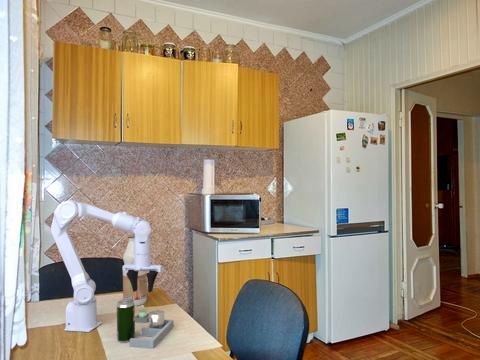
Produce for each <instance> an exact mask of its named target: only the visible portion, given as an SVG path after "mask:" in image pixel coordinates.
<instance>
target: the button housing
mask: <svg viewBox="0 0 480 360" xmlns="http://www.w3.org/2000/svg"><path fill="white" fill-rule="evenodd" d="M149 313H150V312H147V317H146V318H139V313H138V314H137V315H135V322H137V324H138V323H139V324H149Z"/></svg>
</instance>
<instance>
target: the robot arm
mask: <svg viewBox="0 0 480 360" xmlns="http://www.w3.org/2000/svg"><path fill="white" fill-rule="evenodd" d="M77 216H78V218H79V217H80V218H81V217H86V216H89V217H93V218H96V219H100V220H102V221H106V222H109V223H111V224H112V227H113V228H116V229H118V230H120V231H124V232H126V233H130V234H131V233H134V235H135V241H134V264H132V265H122V272H123V271H128V273H126V275H127V277H128V278H129V280H130V282H131V285H132V289H133V292H135V291H137V289H138V272H139V271H146V277H147V292H148V293H152V292H153V289H154V284H155V282H156V279H157V276H158V275H159V273H162V272H163V268H164V267H163V265H157V264H151V261H152V259H151V236H150V234H151V231H152V227H151V224H150V223H149V222H148V221H147V220H145V219H144V218H140V216H137V217H135V216H133V215H130V214H128V213H127V212H126V211H123V212H122V211H119V212H117V213H113V212H110V211H108V210H105V209H102V208H101V207H97V206H95V205H92V204H89V203H85V202H81V201H79V202H78V201H76V200H74V199H73V200H72V199H70V200H66V201H65V200H64V201H63V202H61V203H59V204H58V206H57V207H56V209H55V210H54V211H53V217H52V223H51V226H50V233H51V235H52V237H53V240H54V242H55V244H56V247H57V249H58V251H59V254H60V256H61V258H62V261H63V263H64V265H65V268H66V270H67V272H68V274H69V276H70V279H71V286H72V288H73V300H72V301H69V302H68V303H67V305H66V308H65V328H64V330H63V331H65V332H67V331H69V332H85V333H90V332H92V331H93V330H95V329H96V328H97V327H99V326H101V325H102V324H103V322H102V321H97V320H98V317H97V315H98V313H97V297H95V291H96V288H97V284H96V283H95V281H94V280H93V279H91V278H90V275H89V273H88V272H86V269H85V267H84V265H83V263H82V260H81V258H80V256H79V253H78V250H77V248H76V246H75V244H74V241H73V239H72V237H71V234H70V233H69V228H70V226H71V224H72V223H73V220H74V219H76V218H77Z"/></svg>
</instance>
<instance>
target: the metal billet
mask: <svg viewBox="0 0 480 360" xmlns="http://www.w3.org/2000/svg"><path fill="white" fill-rule="evenodd" d="M148 313H149V322H148V328H154V329H162V328H163V327H164V320H165V311H163V310H158V309H157V310H152V311H150V312H148Z"/></svg>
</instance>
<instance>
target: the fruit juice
mask: <svg viewBox="0 0 480 360" xmlns="http://www.w3.org/2000/svg"><path fill="white" fill-rule="evenodd" d="M127 239H128V243H127V246H126V249H125V251H124V253H123V255H122V259H123V263H124V265H132V264H134V241H135V234H129V235H128V236H127ZM126 273H128V271H123V270H122V291H123V292H122V294H123V295H122V297H123V298H122V300H125V299H132V300H134V304H135V307H139V306H142V305H144V304H146V303H147V302H148V301H147V300H148V297H147V296H148V295H147V294H148V293H147V292H148V279H147V271H139V272H138V289H137V291H135V292H133V289H132V285H131V282H130V280H129V278H128V277H127V275H126Z"/></svg>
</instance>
